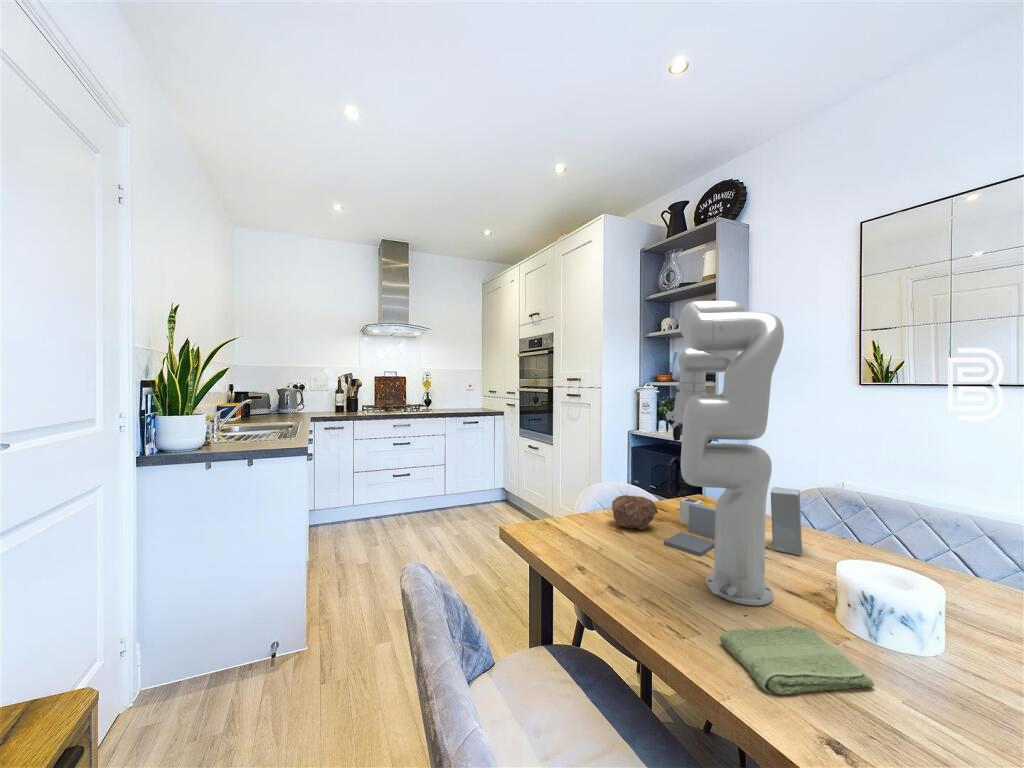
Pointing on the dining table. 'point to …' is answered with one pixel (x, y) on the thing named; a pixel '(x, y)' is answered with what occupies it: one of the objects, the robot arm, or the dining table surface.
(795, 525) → the skincare box
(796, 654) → the washcloth
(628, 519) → the decorative rock
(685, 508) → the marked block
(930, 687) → the dining table surface
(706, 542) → the mat
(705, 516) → the screen
